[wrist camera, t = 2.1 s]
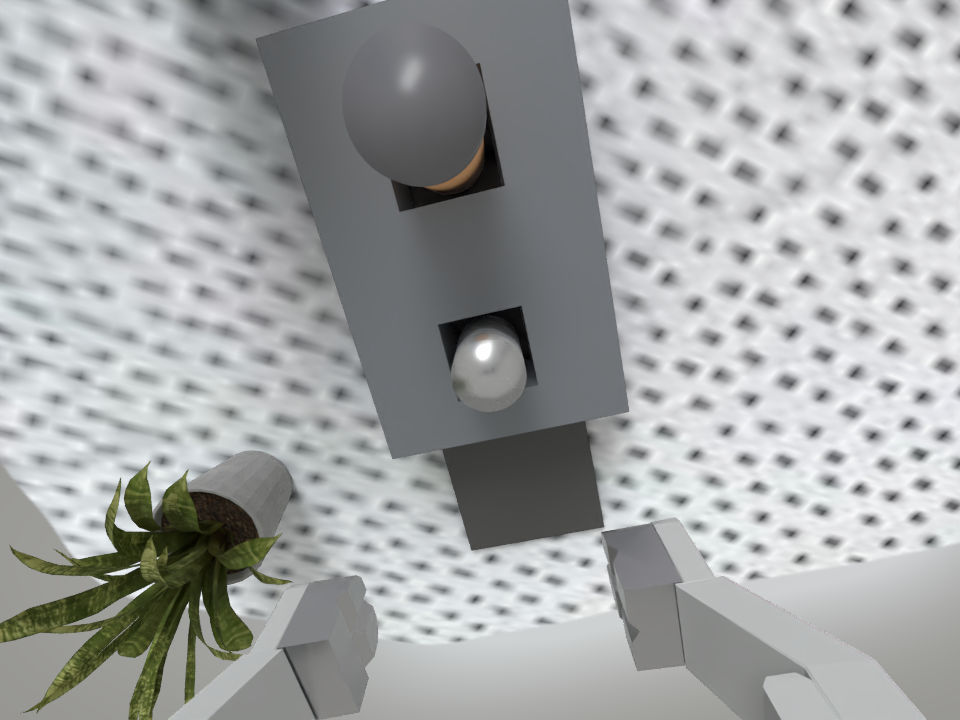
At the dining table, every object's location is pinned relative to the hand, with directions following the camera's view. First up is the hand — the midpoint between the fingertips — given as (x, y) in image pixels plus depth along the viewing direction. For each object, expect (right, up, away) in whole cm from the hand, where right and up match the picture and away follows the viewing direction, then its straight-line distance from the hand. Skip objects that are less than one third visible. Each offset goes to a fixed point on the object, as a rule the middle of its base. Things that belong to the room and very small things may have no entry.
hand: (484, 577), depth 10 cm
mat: (+3, -4, +23) cm, 24 cm away
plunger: (0, +5, +17) cm, 18 cm away
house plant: (-15, -5, +24) cm, 29 cm away
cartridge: (-2, +17, +17) cm, 24 cm away
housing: (-1, +12, +18) cm, 22 cm away
